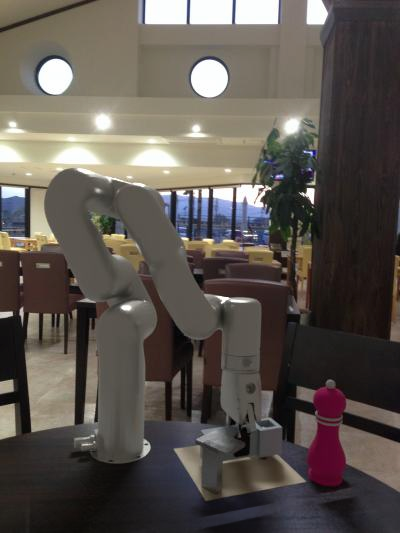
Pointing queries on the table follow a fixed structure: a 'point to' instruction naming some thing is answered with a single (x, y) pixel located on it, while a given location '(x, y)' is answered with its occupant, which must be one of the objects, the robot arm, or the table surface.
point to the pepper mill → (327, 437)
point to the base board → (241, 473)
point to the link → (255, 439)
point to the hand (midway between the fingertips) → (237, 450)
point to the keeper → (216, 458)
